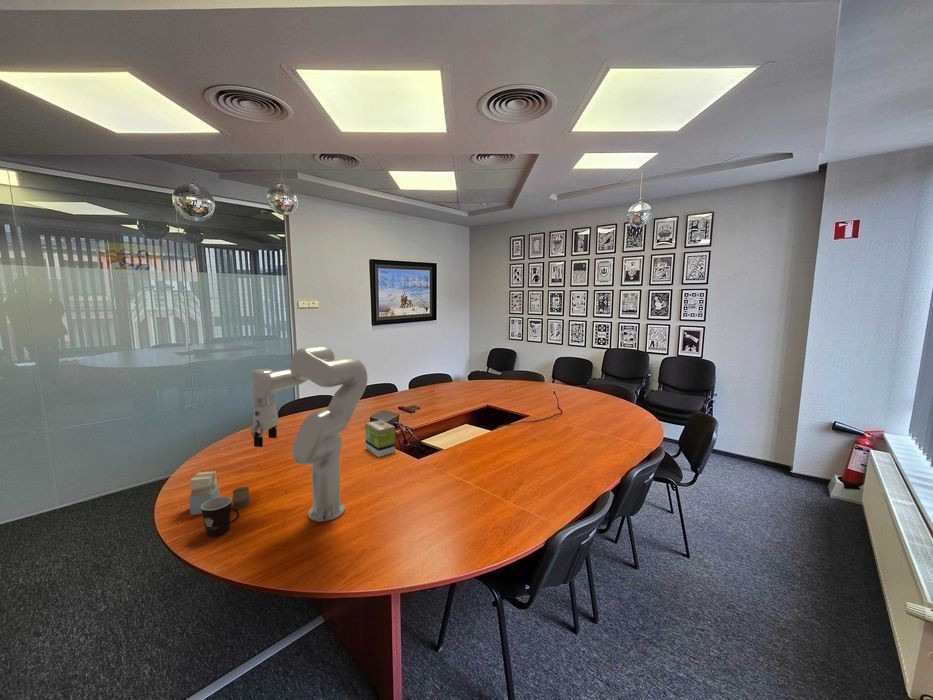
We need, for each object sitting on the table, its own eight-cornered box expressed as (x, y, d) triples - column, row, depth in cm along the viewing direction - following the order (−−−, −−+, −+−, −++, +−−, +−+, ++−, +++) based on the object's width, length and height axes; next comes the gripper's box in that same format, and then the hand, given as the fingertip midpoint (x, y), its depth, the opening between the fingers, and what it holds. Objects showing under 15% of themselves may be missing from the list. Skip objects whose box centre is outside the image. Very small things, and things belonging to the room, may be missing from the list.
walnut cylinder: (247, 507, 139) (246, 492, 138) (231, 509, 138) (230, 494, 137) (251, 500, 144) (250, 486, 143) (236, 502, 143) (235, 487, 142)
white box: (212, 512, 135) (211, 494, 135) (190, 514, 134) (189, 496, 133) (219, 502, 142) (218, 485, 141) (199, 505, 140) (197, 487, 140)
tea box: (364, 449, 198) (364, 422, 196) (381, 444, 205) (381, 419, 203) (378, 458, 187) (378, 429, 185) (395, 453, 194) (395, 425, 192)
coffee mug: (198, 533, 123) (196, 504, 122) (226, 521, 130) (224, 494, 129) (214, 546, 117) (212, 516, 116) (242, 532, 124) (241, 504, 123)
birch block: (210, 494, 135) (209, 478, 134) (191, 495, 134) (190, 480, 133) (216, 486, 141) (216, 471, 140) (198, 487, 139) (197, 472, 139)
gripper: (260, 406, 137) (262, 450, 139) (285, 395, 154) (286, 435, 156) (240, 405, 138) (242, 450, 140) (267, 395, 155) (269, 434, 157)
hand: (265, 442), depth 148 cm, fingers open, 9 cm apart
